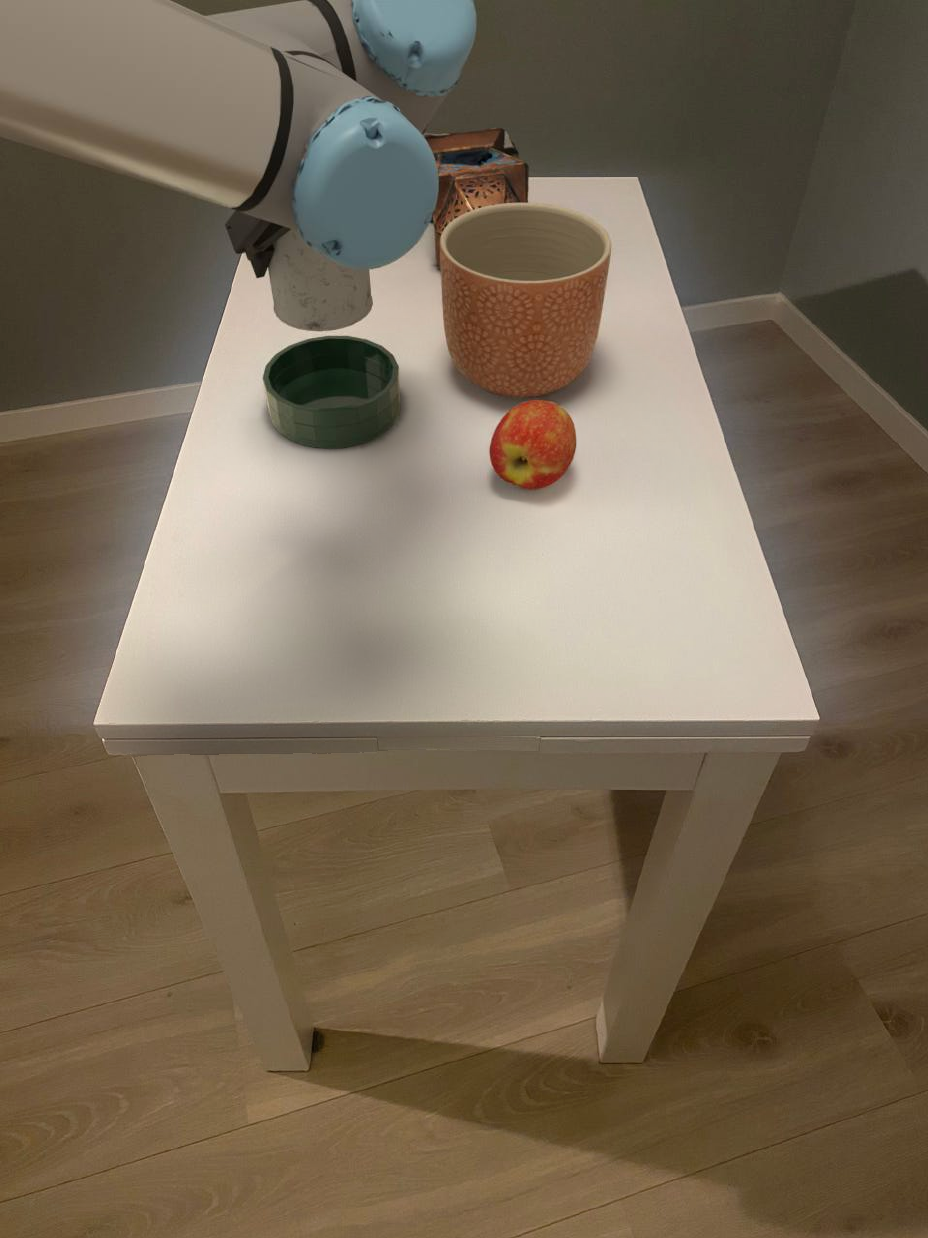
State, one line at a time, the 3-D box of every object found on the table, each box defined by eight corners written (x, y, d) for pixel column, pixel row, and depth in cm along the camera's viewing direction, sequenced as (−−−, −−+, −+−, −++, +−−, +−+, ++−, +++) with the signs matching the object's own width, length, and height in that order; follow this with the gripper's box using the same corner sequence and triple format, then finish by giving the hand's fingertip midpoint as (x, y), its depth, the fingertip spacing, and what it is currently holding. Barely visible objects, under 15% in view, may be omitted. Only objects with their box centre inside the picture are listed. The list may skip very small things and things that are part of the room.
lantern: (454, 258, 134) (490, 342, 117) (375, 174, 124) (401, 253, 107) (542, 174, 128) (592, 250, 111) (465, 79, 118) (508, 146, 101)
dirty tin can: (326, 342, 86) (310, 209, 77) (252, 309, 90) (229, 179, 81) (393, 300, 91) (385, 170, 82) (321, 270, 95) (306, 144, 86)
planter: (578, 327, 110) (591, 197, 99) (610, 412, 99) (629, 277, 88) (435, 336, 109) (431, 205, 97) (450, 423, 97) (449, 287, 86)
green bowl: (310, 465, 93) (305, 428, 89) (247, 399, 100) (239, 362, 97) (425, 417, 98) (424, 380, 95) (357, 357, 106) (353, 321, 102)
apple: (478, 490, 90) (479, 422, 84) (510, 441, 95) (514, 374, 89) (555, 513, 88) (562, 444, 82) (584, 462, 93) (593, 394, 87)
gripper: (235, 216, 65) (208, 318, 86) (509, 154, 72) (423, 262, 93) (195, 109, 64) (178, 238, 85) (477, 56, 71) (397, 188, 92)
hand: (306, 250), depth 89 cm, fingers closed on dirty tin can, 9 cm apart
